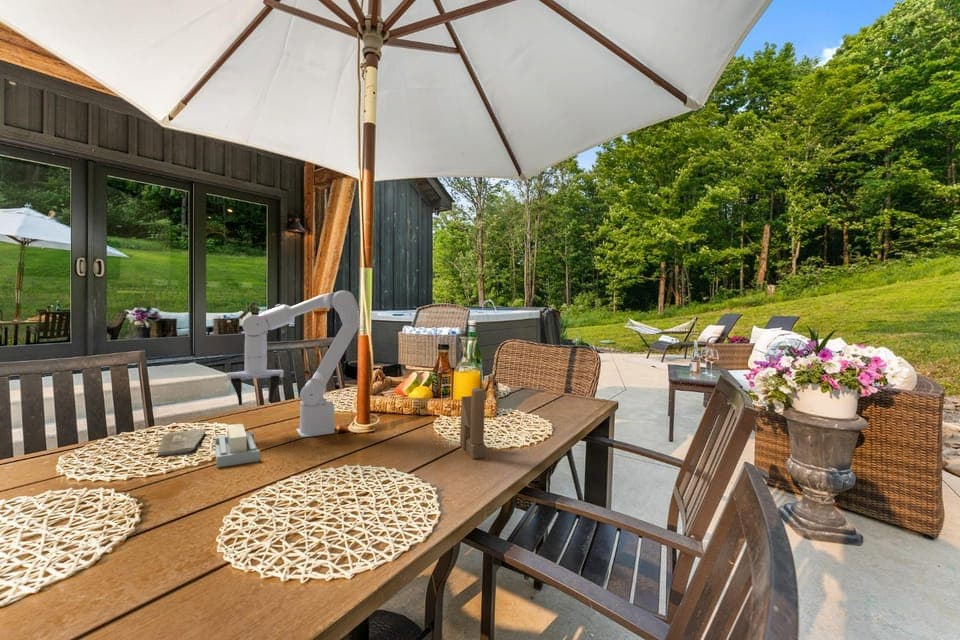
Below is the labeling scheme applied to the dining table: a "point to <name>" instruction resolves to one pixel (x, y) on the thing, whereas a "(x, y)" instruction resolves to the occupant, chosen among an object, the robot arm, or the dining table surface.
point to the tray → (235, 458)
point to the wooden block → (473, 423)
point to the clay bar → (236, 438)
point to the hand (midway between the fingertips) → (255, 403)
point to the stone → (180, 442)
